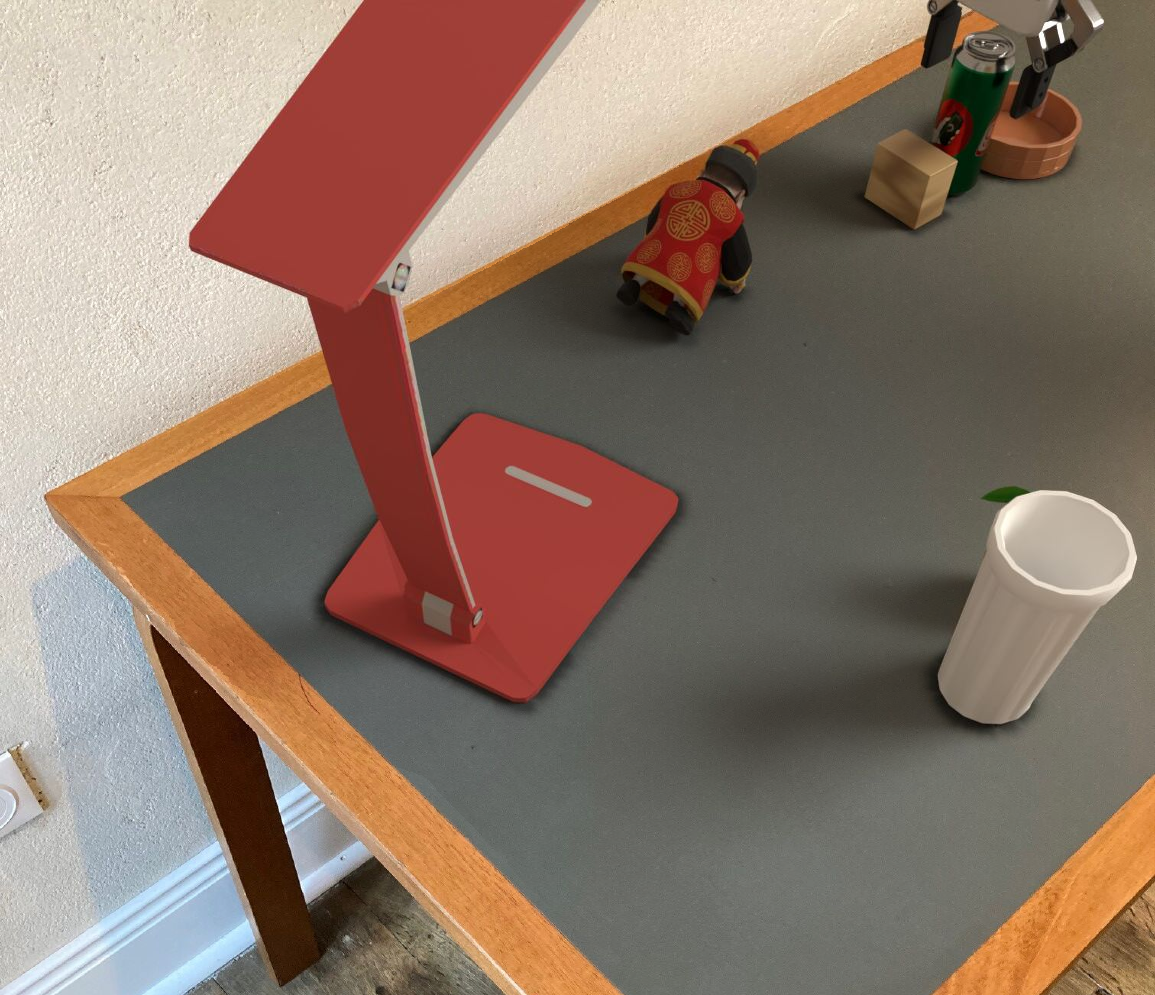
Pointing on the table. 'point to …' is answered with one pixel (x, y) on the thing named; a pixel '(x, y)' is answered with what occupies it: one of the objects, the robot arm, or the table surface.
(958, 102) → the soda can
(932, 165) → the wooden block
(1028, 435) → the table surface
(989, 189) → the table surface
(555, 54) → the desk lamp
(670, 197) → the figurine
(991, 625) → the cup
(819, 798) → the table surface
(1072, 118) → the terracotta bowl
